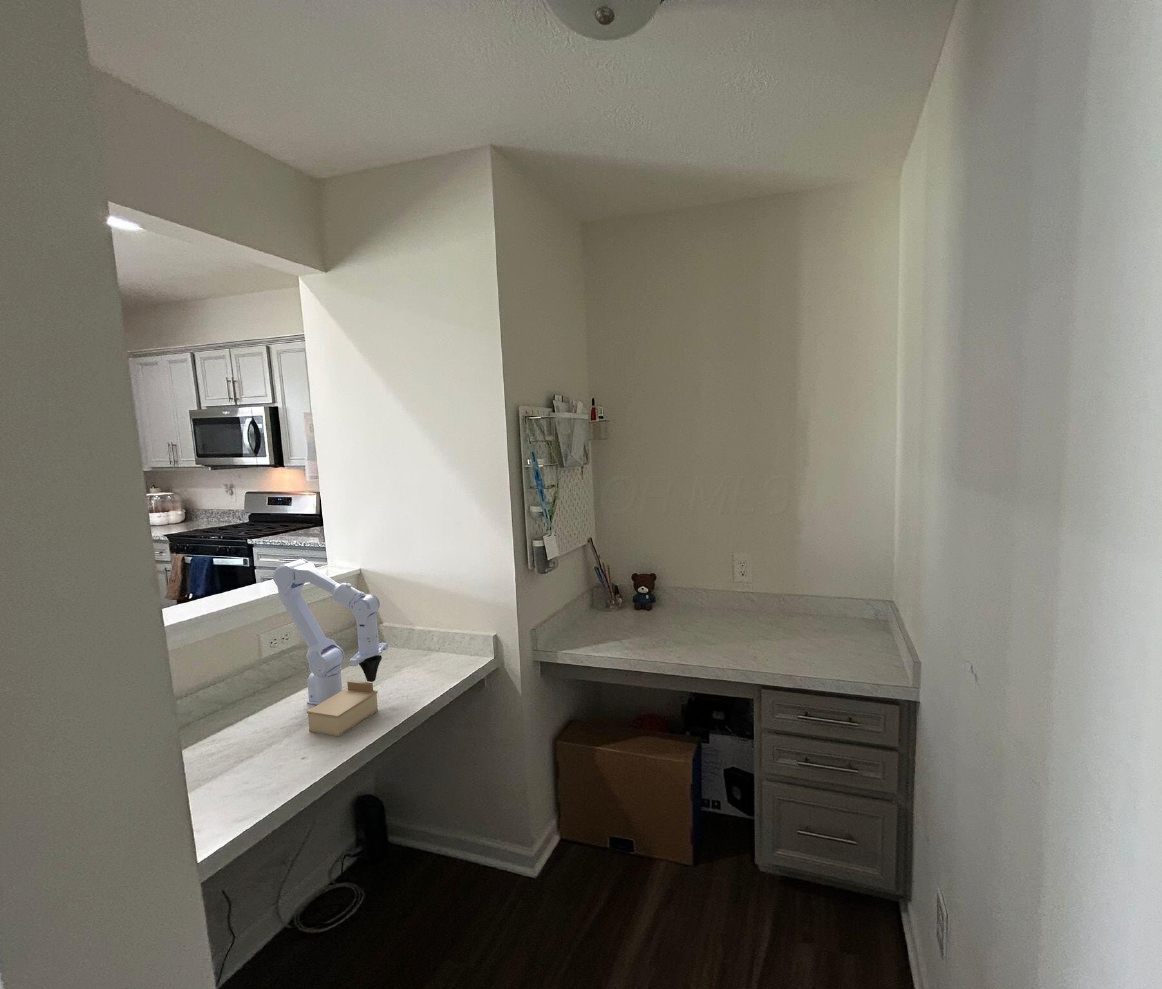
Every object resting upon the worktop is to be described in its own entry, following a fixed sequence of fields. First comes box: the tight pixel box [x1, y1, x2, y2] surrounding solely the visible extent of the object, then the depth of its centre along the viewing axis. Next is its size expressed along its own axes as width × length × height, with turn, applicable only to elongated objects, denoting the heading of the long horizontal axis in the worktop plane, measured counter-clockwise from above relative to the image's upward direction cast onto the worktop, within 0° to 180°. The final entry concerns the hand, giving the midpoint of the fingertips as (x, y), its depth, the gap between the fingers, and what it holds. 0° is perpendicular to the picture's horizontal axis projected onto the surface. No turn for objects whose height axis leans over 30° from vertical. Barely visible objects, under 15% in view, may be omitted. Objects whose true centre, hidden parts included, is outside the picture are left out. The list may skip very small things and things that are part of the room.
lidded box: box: [307, 693, 379, 737], centre depth 176 cm, size 16×10×5 cm, turn 160°
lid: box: [306, 679, 378, 718], centre depth 175 cm, size 16×10×3 cm, turn 160°
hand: (371, 680), depth 187 cm, fingers closed
